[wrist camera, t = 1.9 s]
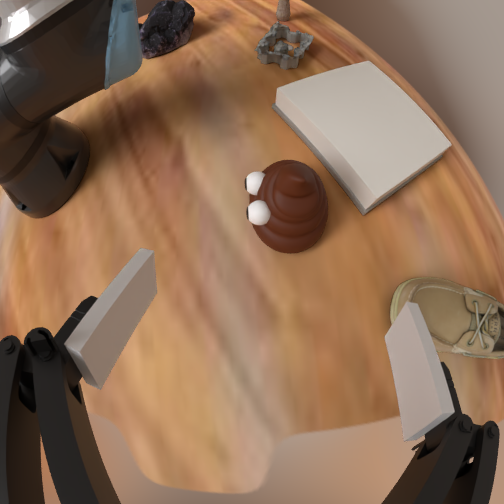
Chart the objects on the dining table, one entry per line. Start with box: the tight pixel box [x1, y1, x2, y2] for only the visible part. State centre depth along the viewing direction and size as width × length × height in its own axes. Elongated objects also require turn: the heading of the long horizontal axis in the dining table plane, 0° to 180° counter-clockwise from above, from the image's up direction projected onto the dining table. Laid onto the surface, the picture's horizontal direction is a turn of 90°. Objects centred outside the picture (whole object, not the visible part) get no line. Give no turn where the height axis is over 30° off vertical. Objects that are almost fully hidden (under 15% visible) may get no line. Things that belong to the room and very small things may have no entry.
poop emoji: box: [245, 160, 328, 253], centre depth 25 cm, size 10×8×9 cm
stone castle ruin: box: [255, 21, 314, 70], centre depth 35 cm, size 11×8×4 cm
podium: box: [272, 61, 452, 215], centre depth 31 cm, size 19×19×4 cm
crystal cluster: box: [139, 0, 195, 59], centre depth 34 cm, size 13×14×10 cm
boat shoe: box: [390, 277, 504, 359], centre depth 23 cm, size 25×9×8 cm, turn 69°
